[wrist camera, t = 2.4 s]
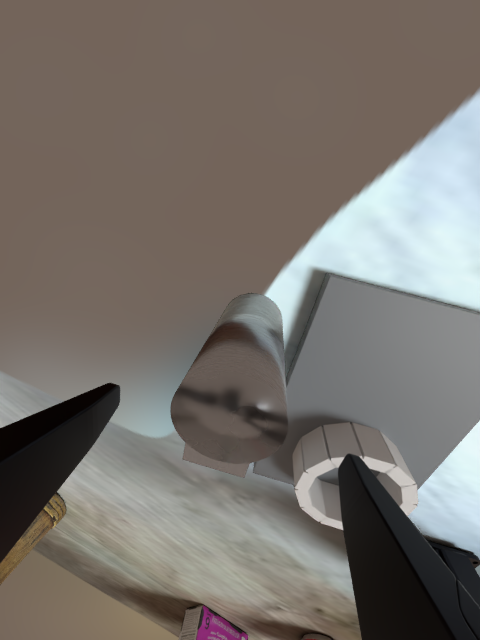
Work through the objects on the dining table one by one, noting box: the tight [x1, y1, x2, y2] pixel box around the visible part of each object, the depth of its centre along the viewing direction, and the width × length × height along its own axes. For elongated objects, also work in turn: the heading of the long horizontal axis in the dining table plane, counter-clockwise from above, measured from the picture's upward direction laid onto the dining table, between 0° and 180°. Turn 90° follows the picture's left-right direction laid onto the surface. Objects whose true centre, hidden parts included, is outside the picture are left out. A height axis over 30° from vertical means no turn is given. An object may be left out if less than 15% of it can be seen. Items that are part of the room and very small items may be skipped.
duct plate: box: [253, 273, 480, 530], centre depth 18 cm, size 20×14×4 cm
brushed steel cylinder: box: [171, 293, 288, 478], centre depth 14 cm, size 9×5×10 cm, turn 167°
